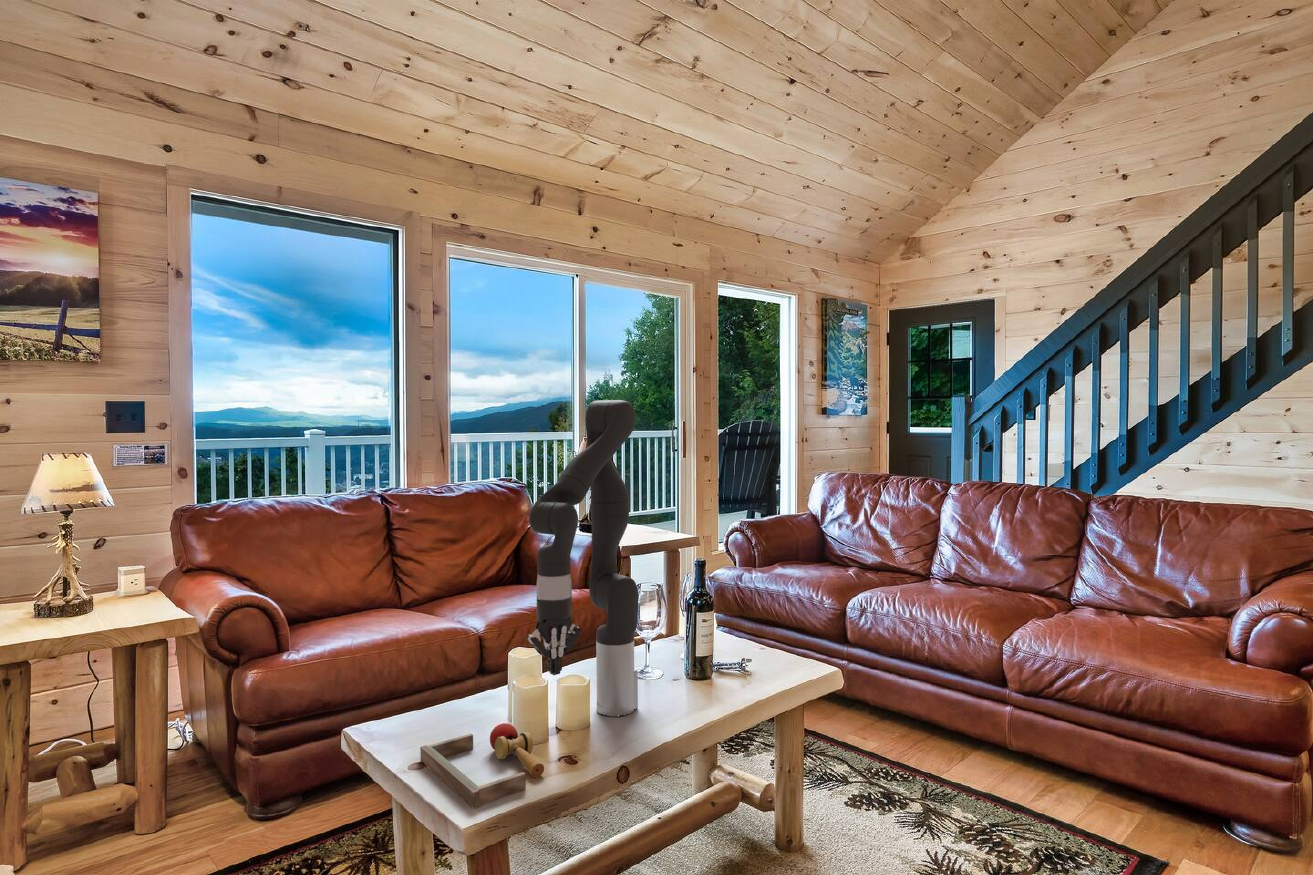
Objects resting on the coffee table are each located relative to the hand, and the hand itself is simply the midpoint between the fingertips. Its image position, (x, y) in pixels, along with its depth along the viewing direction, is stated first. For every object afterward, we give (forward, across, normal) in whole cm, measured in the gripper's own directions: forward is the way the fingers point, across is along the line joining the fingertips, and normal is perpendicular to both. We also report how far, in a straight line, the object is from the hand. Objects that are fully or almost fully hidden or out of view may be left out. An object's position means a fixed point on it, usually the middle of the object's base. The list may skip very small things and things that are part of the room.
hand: (554, 673), depth 170 cm
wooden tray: (+16, +19, 0) cm, 25 cm away
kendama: (+17, +9, 0) cm, 19 cm away
